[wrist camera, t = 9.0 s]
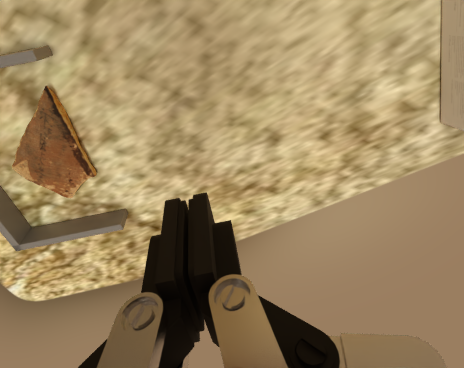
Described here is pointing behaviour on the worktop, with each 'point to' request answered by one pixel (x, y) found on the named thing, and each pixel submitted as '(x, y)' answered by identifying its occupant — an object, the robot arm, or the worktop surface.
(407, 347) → the robot arm
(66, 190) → the shard
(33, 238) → the grey u-shaped bracket
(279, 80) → the worktop surface
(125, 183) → the worktop surface
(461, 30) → the skincare box
